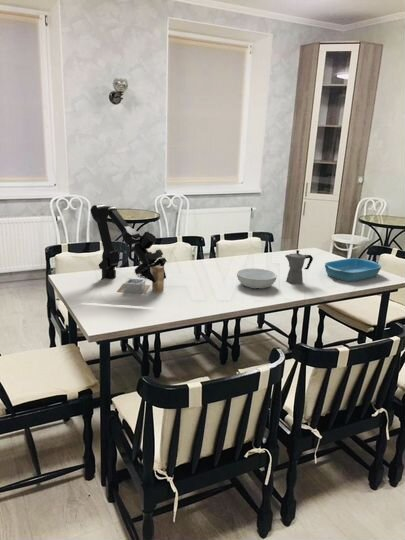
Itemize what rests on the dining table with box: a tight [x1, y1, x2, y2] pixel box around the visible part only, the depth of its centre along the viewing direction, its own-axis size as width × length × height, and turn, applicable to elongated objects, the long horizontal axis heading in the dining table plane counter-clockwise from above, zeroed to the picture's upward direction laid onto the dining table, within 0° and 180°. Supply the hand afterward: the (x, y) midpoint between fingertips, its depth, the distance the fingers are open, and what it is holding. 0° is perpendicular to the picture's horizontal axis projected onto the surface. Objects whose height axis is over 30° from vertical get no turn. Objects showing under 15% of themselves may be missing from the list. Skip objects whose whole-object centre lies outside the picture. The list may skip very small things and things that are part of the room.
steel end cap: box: [123, 278, 146, 295], centre depth 215 cm, size 8×8×4 cm
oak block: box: [151, 265, 165, 293], centre depth 215 cm, size 4×4×13 cm
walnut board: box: [116, 283, 151, 295], centre depth 218 cm, size 14×13×1 cm
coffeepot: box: [285, 249, 314, 285], centre depth 243 cm, size 15×9×18 cm, turn 92°
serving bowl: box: [236, 267, 278, 289], centre depth 234 cm, size 21×21×7 cm
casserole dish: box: [324, 257, 382, 282], centre depth 262 cm, size 37×22×7 cm, turn 124°
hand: (160, 280), depth 215 cm, fingers open, 8 cm apart
